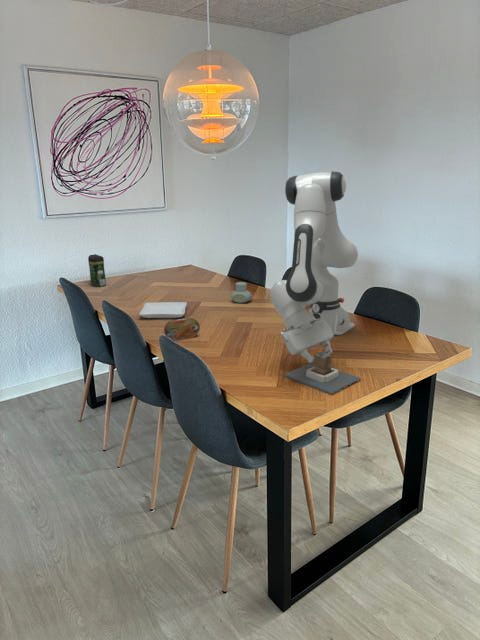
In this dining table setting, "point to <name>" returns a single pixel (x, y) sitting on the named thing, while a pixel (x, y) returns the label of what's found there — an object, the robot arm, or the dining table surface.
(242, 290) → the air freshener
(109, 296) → the dining table surface
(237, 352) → the dining table surface
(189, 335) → the tin
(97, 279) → the coffee jar
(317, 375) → the end holder
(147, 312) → the salad plate
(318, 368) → the plug
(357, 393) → the dining table surface
